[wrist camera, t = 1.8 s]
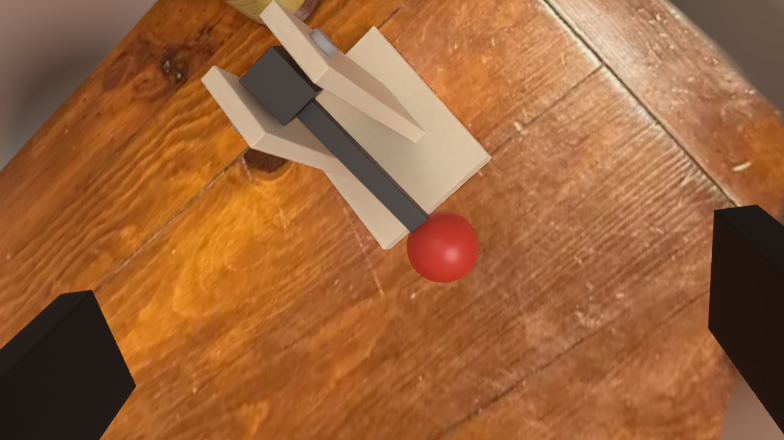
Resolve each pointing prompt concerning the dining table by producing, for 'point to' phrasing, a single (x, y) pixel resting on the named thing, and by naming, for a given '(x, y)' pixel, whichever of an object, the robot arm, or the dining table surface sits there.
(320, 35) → the switch bracket
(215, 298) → the dining table surface
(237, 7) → the sauce bottle
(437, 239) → the switch lever
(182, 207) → the dining table surface
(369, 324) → the dining table surface
